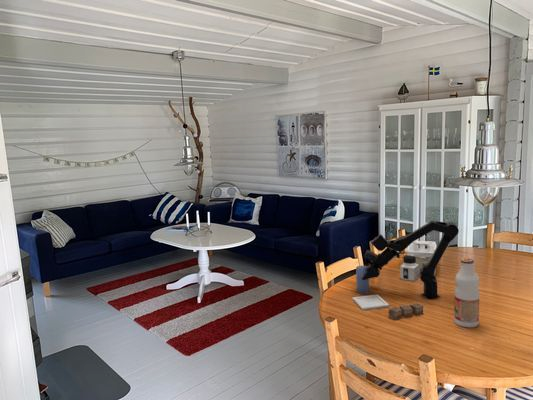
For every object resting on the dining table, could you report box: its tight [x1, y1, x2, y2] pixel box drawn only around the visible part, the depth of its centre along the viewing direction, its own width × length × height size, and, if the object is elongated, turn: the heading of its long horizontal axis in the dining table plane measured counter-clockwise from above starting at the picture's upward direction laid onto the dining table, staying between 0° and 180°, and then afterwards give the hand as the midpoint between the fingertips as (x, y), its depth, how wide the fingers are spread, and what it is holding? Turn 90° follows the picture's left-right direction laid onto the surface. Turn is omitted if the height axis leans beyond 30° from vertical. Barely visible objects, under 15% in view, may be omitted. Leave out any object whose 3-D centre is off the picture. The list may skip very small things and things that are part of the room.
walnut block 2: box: [399, 304, 413, 319], centre depth 183 cm, size 4×4×4 cm
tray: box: [352, 294, 390, 311], centre depth 198 cm, size 13×13×1 cm
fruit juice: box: [453, 257, 480, 329], centre depth 171 cm, size 9×9×28 cm
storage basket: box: [406, 240, 438, 277], centre depth 241 cm, size 24×16×15 cm
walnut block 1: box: [388, 306, 403, 321], centre depth 182 cm, size 4×4×4 cm
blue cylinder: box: [355, 265, 370, 295], centre depth 213 cm, size 6×6×13 cm
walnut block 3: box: [409, 302, 424, 317], centre depth 184 cm, size 4×4×4 cm
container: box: [400, 254, 420, 282], centre depth 228 cm, size 8×8×13 cm
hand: (363, 276), depth 213 cm, fingers open, 9 cm apart
